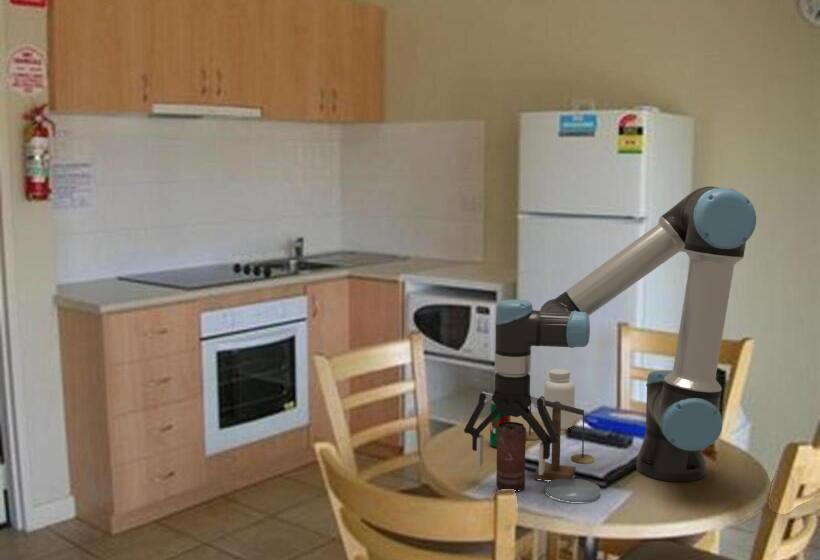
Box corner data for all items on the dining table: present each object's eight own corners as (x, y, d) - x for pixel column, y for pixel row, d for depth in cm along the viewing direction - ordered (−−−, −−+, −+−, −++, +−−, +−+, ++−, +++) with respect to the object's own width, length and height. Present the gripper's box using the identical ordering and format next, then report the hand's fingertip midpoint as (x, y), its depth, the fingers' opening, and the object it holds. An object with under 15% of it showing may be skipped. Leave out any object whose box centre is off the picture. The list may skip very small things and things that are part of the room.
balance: (595, 477, 196) (597, 398, 194) (591, 486, 190) (593, 405, 188) (521, 469, 202) (522, 392, 199) (515, 478, 196) (516, 398, 194)
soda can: (513, 444, 219) (514, 397, 218) (504, 450, 215) (505, 402, 213) (495, 441, 222) (495, 394, 220) (486, 446, 218) (486, 399, 216)
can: (525, 493, 187) (525, 430, 185) (495, 491, 188) (495, 428, 186) (527, 483, 193) (527, 421, 191) (498, 481, 194) (498, 420, 192)
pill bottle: (543, 429, 231) (544, 374, 229) (543, 421, 239) (544, 367, 237) (574, 431, 230) (575, 375, 228) (573, 422, 238) (574, 368, 236)
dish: (603, 486, 190) (603, 481, 190) (596, 506, 180) (596, 501, 179) (550, 480, 194) (550, 475, 194) (540, 499, 183) (540, 494, 183)
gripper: (574, 373, 186) (571, 470, 189) (460, 364, 194) (459, 456, 197) (568, 382, 179) (565, 482, 182) (451, 371, 187) (449, 467, 190)
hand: (510, 469), depth 190 cm, fingers open, 13 cm apart
